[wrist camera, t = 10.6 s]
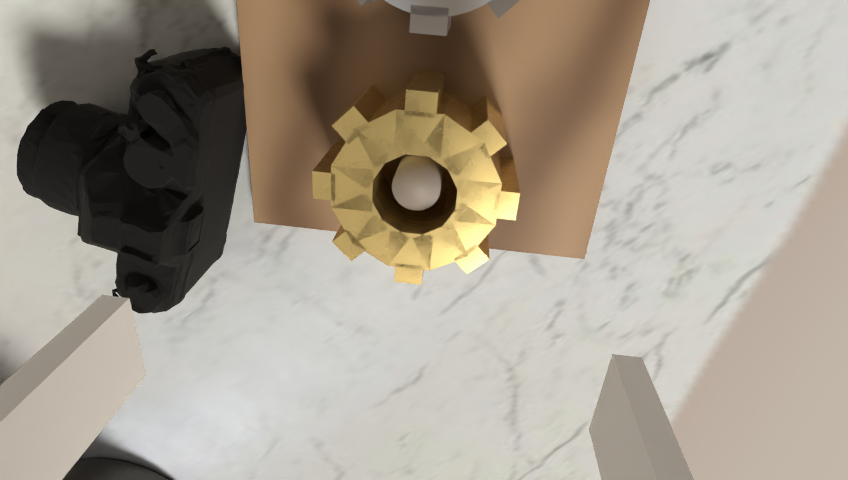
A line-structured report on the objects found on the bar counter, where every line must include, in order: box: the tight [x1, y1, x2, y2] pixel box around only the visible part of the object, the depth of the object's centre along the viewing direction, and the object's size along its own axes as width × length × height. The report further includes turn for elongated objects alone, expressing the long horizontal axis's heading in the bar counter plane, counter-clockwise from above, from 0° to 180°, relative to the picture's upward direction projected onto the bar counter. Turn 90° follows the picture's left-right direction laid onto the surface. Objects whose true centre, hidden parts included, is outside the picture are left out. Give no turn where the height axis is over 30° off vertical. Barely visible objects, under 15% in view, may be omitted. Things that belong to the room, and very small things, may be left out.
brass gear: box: [312, 69, 520, 284], centre depth 27 cm, size 10×10×5 cm
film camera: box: [17, 47, 247, 313], centre depth 28 cm, size 15×10×9 cm, turn 160°
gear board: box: [236, 0, 650, 259], centre depth 25 cm, size 20×22×7 cm
